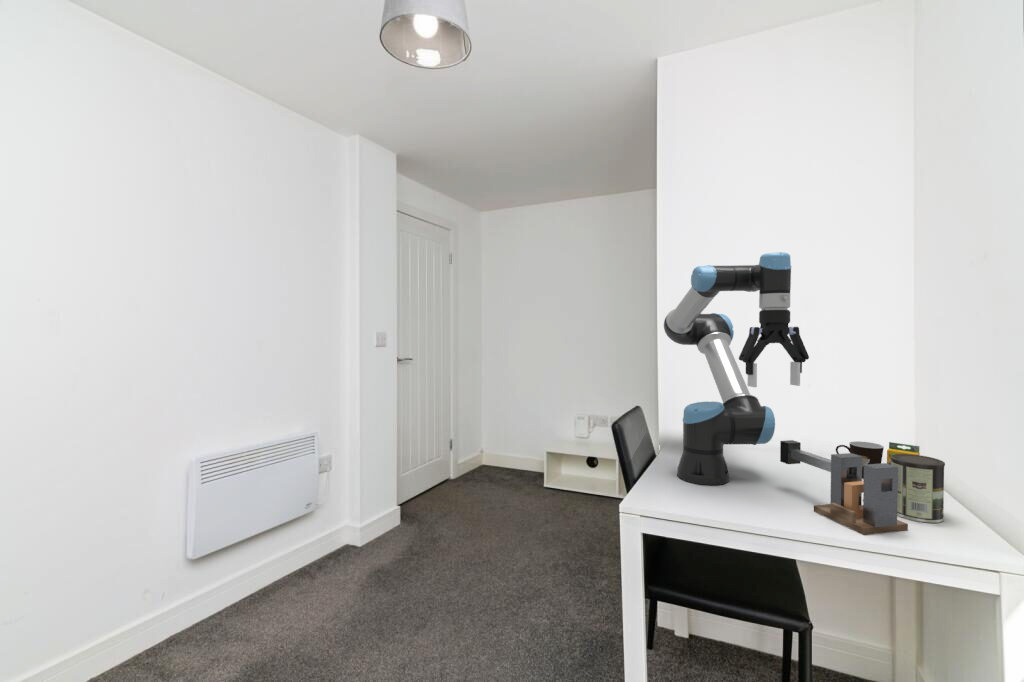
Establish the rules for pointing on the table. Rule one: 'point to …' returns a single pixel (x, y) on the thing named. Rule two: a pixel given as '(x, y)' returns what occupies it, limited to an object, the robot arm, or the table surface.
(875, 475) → the bearing blocks
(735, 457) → the table surface
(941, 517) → the coffee can
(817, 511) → the tray
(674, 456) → the table surface
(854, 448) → the coffee mug
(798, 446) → the shaft
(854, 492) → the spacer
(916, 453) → the crayon box
